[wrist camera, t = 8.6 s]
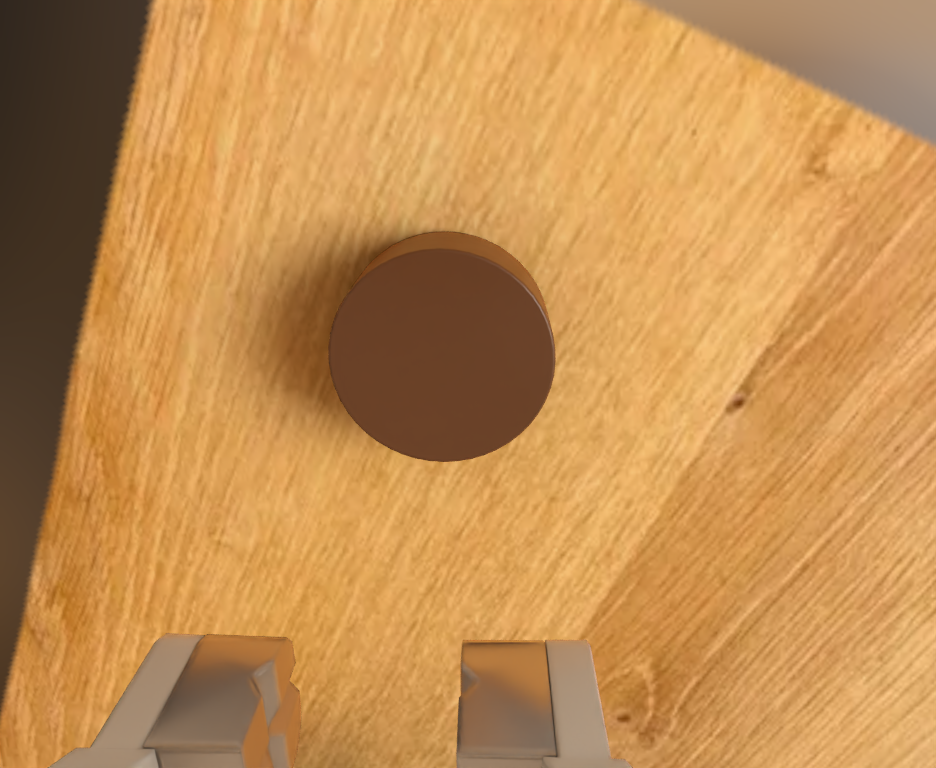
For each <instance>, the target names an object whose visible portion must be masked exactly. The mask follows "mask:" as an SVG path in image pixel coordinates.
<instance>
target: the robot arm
mask: <svg viewBox="0 0 936 768" xmlns="http://www.w3.org/2000/svg"><path fill="white" fill-rule="evenodd" d="M295 663H296V662H295V656H294V650H293V645H292V641H291V640H290V639H288V638H287V637H263V636H239V635H214V634H207V635H190V634H169V633H166V634H165V635H164V636H162V637H161V638H159V639H158V640H157V641H156V642H155V643H154V644H153V646H152V648H151V649H150V651H149V653H148V654H147V656H146V657H145V659H144V661H143V662H142V664H141V666H140V667H139V669H138V670H137V672H136V674H135V675H134V677H133V679H132V680H131V682H130V683H129V685H128V687H127V688H126V690H125V692H124V693H123V695H122V696H121V698H120V700H119V701H118V703H117V705H116V706H115V708H114V709H113V711H112V713H111V714H110V716H109V718H108V719H107V721H106V722H105V724H104V726H103V727H102V729H101V731H100V732H99V734H98V735H97V737H96V739H95V740H94V742H93V744H92V745H91V747H90V748H75V749H74V750H73V751H71V752H70V753H68V754H67V755H65V756H64V757H63V758H61V759H60V760H58V761H57V762H55V763H54V764H52V765H51V766H50V767H48V768H293V765H294V762H295V758H296V755H297V750H298V743H299V736H300V729H301V701H300V693H299V690H298V689H297V688H296V687H295V686H294V685H293V684H292V683H291V682H290V678H291V675H292V672H293V669H294V666H295ZM457 768H633V767H632V766H631V765H630V764H629V763H628V762H627V761H626V760H625V759H611V755H610V749H609V744H608V738H607V733H606V728H605V722H604V717H603V711H602V706H601V700H600V695H599V690H598V684H597V679H596V673H595V668H594V663H593V657H592V652H591V646H590V645H589V643H588V642H587V641H586V640H545V642H544V641H541V640H463V642H462V652H461V696H460V697H459V709H458V732H457Z"/></svg>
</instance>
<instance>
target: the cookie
mask: <svg viewBox="0 0 936 768" xmlns="http://www.w3.org/2000/svg"><path fill="white" fill-rule="evenodd" d="M328 349H329V366H330V372H331V377H332V380H333V383H334V387H335V389H336V391H337V394H338V396H339V398H340V400H341V402H342V404H343V405H344V407H345V408H346V410H347V412H348V413H349V414H350V416H351V417H352V418H353V419H354V421H355V422H356V423H357V424H358V425H359V426H360V427H361V428H362V429H363V430H364V431H365V432H366V433H367V434H369V435H370V436H371V437H373V438H374V439H375V440H376V441H378V442H379V443H381V444H383V445H385V446H386V447H388V448H390V449H392V450H394V451H396V452H399V453H401V454H404V455H407V456H410V457H413V458H417V459H423V460H428V461H440V462H449V461H461V460H467V459H472V458H476V457H479V456H482V455H485V454H488V453H490V452H492V451H495V450H497V449H499V448H501V447H502V446H504V445H506V444H507V443H509V442H510V441H512V440H513V439H514V438H516V437H517V436H518V435H520V434H521V433H522V432H523V431H524V430H525V429H526V428H527V427H528V426H529V425H530V424H531V422H532V421H533V420H534V419H535V417H536V416H537V415H538V413H539V412H540V410H541V408H542V406H543V405H544V403H545V401H546V399H547V396H548V394H549V391H550V389H551V385H552V381H553V377H554V370H555V344H554V339H553V333H552V329H551V325H550V321H549V317H548V313H547V310H546V306H545V303H544V300H543V297H542V295H541V293H540V290H539V288H538V286H537V284H536V283H535V281H534V280H533V278H532V277H531V275H530V274H529V272H528V271H527V270H526V269H525V268H524V267H523V265H522V264H521V263H520V262H519V261H518V260H516V259H515V258H514V257H513V256H512V255H511V254H510V253H508V252H507V251H505V250H504V249H502V248H501V247H499V246H497V245H495V244H493V243H491V242H489V241H487V240H485V239H482V238H479V237H476V236H473V235H468V234H463V233H457V232H432V233H426V234H421V235H416V236H414V237H411V238H408V239H405V240H403V241H401V242H399V243H397V244H395V245H393V246H391V247H389V248H388V249H387V250H385V251H384V252H382V253H381V254H380V255H378V256H377V257H376V258H375V259H374V260H373V261H372V262H371V263H370V264H369V265H368V266H367V268H366V269H365V270H364V271H363V272H362V274H361V275H360V277H359V278H358V279H357V281H356V282H355V284H354V285H353V286H352V288H351V289H350V290H349V292H348V293H347V295H346V296H345V298H344V300H343V301H342V303H341V305H340V306H339V309H338V311H337V313H336V316H335V318H334V321H333V324H332V328H331V332H330V339H329V347H328Z"/></svg>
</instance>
